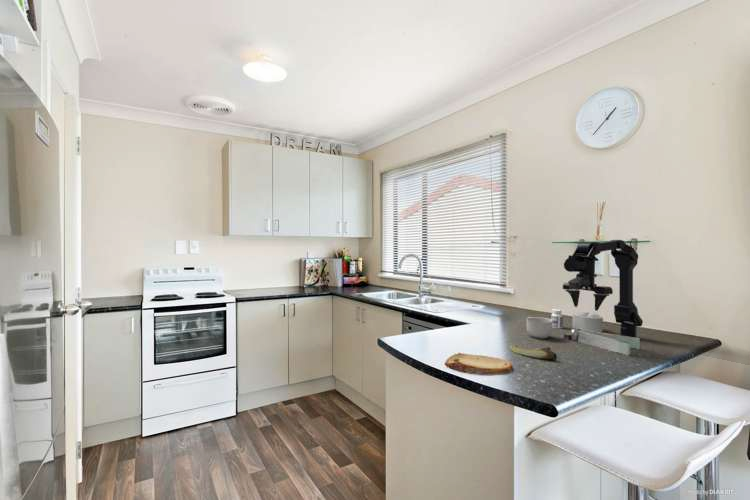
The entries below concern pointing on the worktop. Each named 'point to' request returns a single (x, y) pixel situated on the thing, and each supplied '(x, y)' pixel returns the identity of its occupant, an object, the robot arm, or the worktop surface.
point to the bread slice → (478, 364)
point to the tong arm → (619, 338)
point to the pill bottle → (557, 319)
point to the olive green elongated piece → (535, 352)
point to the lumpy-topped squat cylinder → (588, 321)
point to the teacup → (539, 327)
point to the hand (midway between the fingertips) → (585, 308)
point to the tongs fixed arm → (599, 341)
